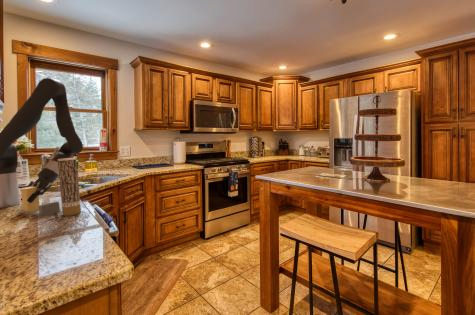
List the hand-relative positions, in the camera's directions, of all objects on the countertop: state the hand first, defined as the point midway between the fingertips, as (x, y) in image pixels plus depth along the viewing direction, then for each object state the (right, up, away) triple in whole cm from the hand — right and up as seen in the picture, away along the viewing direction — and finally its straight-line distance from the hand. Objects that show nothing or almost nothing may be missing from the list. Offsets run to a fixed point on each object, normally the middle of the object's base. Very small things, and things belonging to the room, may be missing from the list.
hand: (25, 201), depth 113 cm
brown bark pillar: (+24, -5, -3) cm, 24 cm away
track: (+6, -5, 0) cm, 8 cm away
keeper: (+1, -5, +2) cm, 5 cm away
